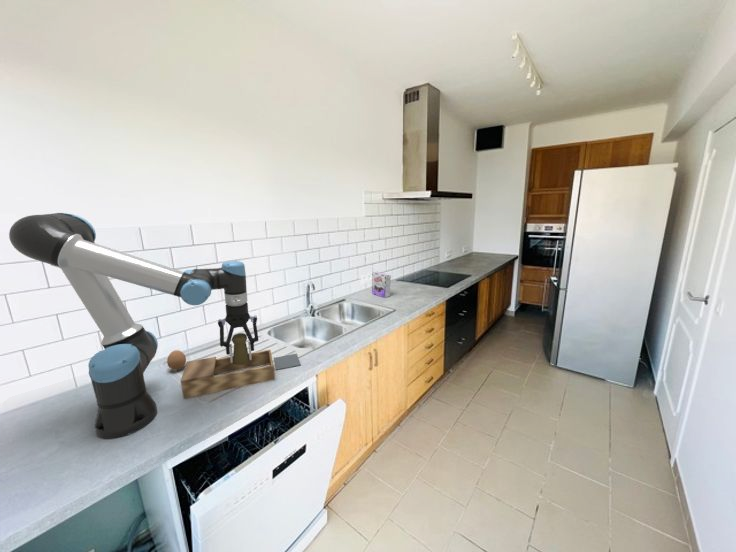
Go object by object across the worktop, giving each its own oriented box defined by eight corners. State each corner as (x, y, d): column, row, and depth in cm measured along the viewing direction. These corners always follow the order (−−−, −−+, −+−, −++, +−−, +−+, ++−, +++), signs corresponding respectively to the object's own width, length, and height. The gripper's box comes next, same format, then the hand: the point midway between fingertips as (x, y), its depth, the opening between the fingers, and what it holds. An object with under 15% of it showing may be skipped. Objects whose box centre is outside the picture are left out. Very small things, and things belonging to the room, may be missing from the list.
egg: (189, 363, 126) (186, 346, 124) (185, 372, 120) (182, 353, 118) (171, 366, 124) (168, 348, 122) (166, 374, 118) (163, 355, 116)
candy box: (371, 293, 222) (371, 272, 218) (377, 292, 226) (377, 271, 222) (384, 298, 212) (385, 275, 208) (390, 296, 216) (391, 274, 212)
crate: (183, 398, 104) (180, 380, 102) (189, 377, 116) (186, 361, 114) (274, 379, 115) (273, 363, 114) (271, 362, 127) (270, 347, 126)
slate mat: (276, 370, 121) (276, 369, 121) (273, 358, 130) (273, 357, 130) (300, 365, 125) (300, 364, 125) (296, 354, 134) (296, 353, 134)
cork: (243, 365, 112) (241, 338, 109) (229, 363, 113) (226, 337, 111) (252, 357, 118) (251, 332, 115) (239, 356, 119) (237, 330, 116)
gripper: (206, 309, 103) (213, 369, 108) (264, 303, 110) (267, 360, 116) (208, 302, 110) (214, 359, 115) (263, 297, 117) (266, 351, 122)
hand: (241, 359), depth 115 cm, fingers closed on cork, 6 cm apart
